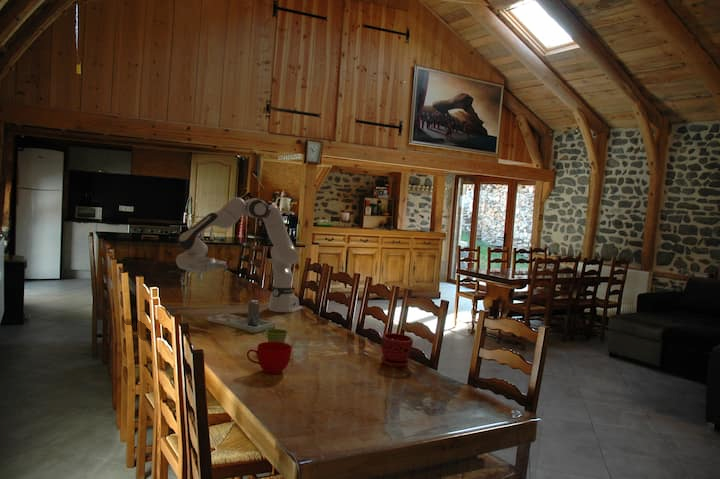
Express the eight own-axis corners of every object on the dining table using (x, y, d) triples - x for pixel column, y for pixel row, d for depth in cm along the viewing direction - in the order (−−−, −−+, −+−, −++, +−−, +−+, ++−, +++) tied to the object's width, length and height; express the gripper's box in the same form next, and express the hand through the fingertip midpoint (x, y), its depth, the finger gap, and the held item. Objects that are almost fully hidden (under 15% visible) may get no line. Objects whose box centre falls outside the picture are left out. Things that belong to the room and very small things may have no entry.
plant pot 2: (385, 369, 224) (387, 340, 223) (376, 359, 237) (378, 332, 236) (415, 368, 228) (417, 340, 227) (404, 359, 240) (406, 332, 239)
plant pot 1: (284, 354, 233) (285, 334, 233) (262, 353, 233) (264, 333, 233) (287, 349, 243) (289, 329, 242) (266, 347, 243) (268, 328, 242)
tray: (225, 318, 293) (226, 312, 292) (246, 322, 286) (246, 316, 286) (207, 322, 280) (207, 315, 280) (227, 327, 274) (228, 320, 274)
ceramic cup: (243, 367, 212) (244, 342, 211) (285, 365, 218) (287, 341, 217) (248, 378, 200) (250, 351, 199) (293, 376, 206) (295, 350, 205)
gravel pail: (251, 324, 279) (253, 298, 278) (260, 326, 276) (262, 300, 276) (244, 326, 274) (246, 300, 273) (253, 328, 272) (255, 301, 271)
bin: (250, 323, 286) (250, 317, 286) (274, 328, 279) (275, 322, 279) (229, 328, 272) (230, 322, 272) (255, 333, 265) (255, 327, 264)
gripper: (187, 259, 283) (207, 262, 276) (214, 257, 301) (234, 260, 294) (186, 271, 283) (206, 275, 277) (214, 268, 301) (233, 272, 295)
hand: (220, 267), depth 286 cm, fingers open, 8 cm apart
